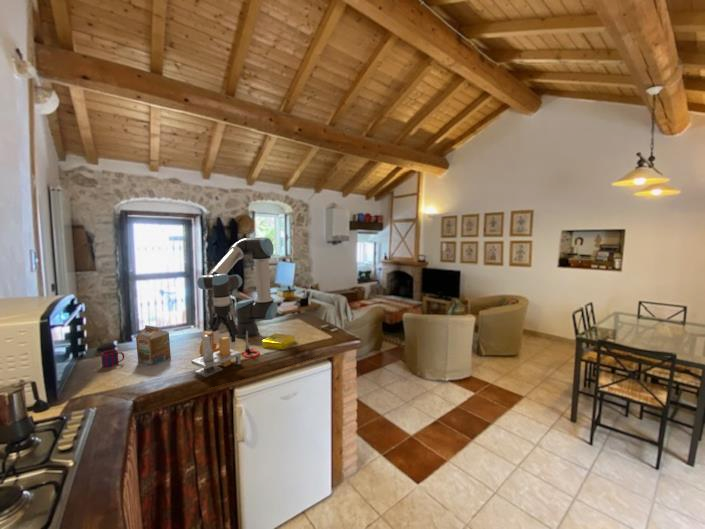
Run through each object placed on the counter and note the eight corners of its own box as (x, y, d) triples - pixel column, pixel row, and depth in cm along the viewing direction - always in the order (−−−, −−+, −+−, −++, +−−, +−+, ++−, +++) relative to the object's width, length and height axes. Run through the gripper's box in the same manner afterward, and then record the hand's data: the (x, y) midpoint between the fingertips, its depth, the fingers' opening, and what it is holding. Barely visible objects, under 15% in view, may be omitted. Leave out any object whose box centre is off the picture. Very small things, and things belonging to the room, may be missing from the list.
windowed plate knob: (227, 358, 162) (225, 326, 161) (241, 363, 156) (239, 329, 154) (192, 372, 147) (189, 336, 145) (206, 378, 140) (203, 340, 138)
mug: (109, 362, 161) (107, 350, 160) (128, 361, 161) (127, 349, 160) (98, 367, 154) (97, 354, 154) (118, 367, 154) (117, 354, 154)
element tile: (295, 341, 188) (295, 334, 188) (282, 350, 174) (282, 342, 174) (275, 339, 193) (274, 332, 193) (260, 347, 179) (260, 340, 178)
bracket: (210, 356, 166) (209, 335, 165) (199, 355, 168) (198, 334, 167) (224, 349, 176) (222, 329, 175) (213, 348, 178) (212, 328, 177)
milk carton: (138, 363, 159) (135, 328, 157) (157, 355, 169) (154, 322, 167) (151, 366, 155) (148, 330, 153) (170, 358, 165) (168, 324, 163)
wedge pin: (226, 362, 157) (225, 336, 156) (230, 364, 155) (229, 337, 154) (220, 365, 154) (218, 338, 153) (224, 366, 152) (222, 339, 151)
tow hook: (262, 355, 168) (253, 350, 174) (262, 332, 166) (252, 328, 172) (249, 360, 162) (239, 355, 168) (248, 336, 160) (239, 332, 166)
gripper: (201, 303, 156) (203, 343, 158) (230, 309, 142) (233, 352, 144) (214, 300, 162) (217, 339, 164) (244, 306, 148) (246, 347, 150)
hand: (224, 345), depth 154 cm, fingers open, 13 cm apart
